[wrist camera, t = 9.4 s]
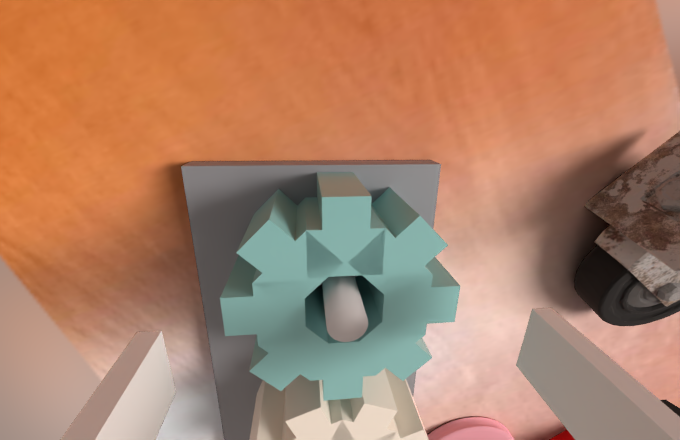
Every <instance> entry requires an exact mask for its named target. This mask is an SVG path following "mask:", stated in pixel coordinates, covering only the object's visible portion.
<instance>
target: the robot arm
mask: <svg viewBox="0 0 680 440" xmlns="http://www.w3.org/2000/svg"><path fill="white" fill-rule="evenodd" d="M516 366H517V367H518V368H519V369H520V371H521V372H522V373H523V374H524V376H525V377H526V378H527V380H528V381H529V382H530V383H531V385H532V386H533V387H534V388H535V390H536V391H537V392H538V393H539V395H540V396H541V397H542V398H543V400H544V401H545V402H546V404H547V405H548V406H549V407H550V409H551V410H552V411H553V412H554V414H555V415H556V416H557V417H558V419H559V420H560V421H561V422H562V424H563V425H564V426H565V428H566V429H567V430H568V431H569V433H570V434H571V435H572V436H573V438H574V439H575V440H680V408H678V407H677V406H675V405H673V404H672V403H670V402H668V401H667V400H659V399H658V398H657V397H656V396H654V395H653V394H652V393H651V392H650V391H649V390H647V389H646V388H645V387H644V386H643V385H642V384H640V383H639V382H638V381H637V380H636V379H635V378H633V377H632V376H631V375H630V374H629V373H627V372H626V371H625V370H624V369H623V368H622V367H620V366H619V365H618V364H617V363H616V362H615V361H613V360H612V359H611V358H610V357H609V356H607V355H606V354H605V353H604V352H603V351H602V350H600V349H599V348H598V347H597V346H596V345H595V344H593V343H592V342H591V341H590V340H589V339H588V338H586V337H585V336H584V335H583V334H582V333H580V332H579V331H578V330H577V329H576V328H575V327H573V326H572V325H571V324H570V323H569V322H568V321H566V320H565V319H564V318H563V317H562V316H561V315H559V314H558V313H557V312H556V311H555V310H553V309H552V308H537V309H532V312H531V315H530V319H529V322H528V326H527V329H526V333H525V336H524V340H523V343H522V347H521V350H520V354H519V357H518V361H517V364H516ZM175 394H176V389H175V385H174V380H173V376H172V372H171V368H170V364H169V359H168V355H167V351H166V347H165V343H164V338H163V334H162V330H161V331H144V332H137V333H136V334H135V335H134V337H133V338H132V340H131V341H130V342H129V344H128V345H127V347H126V348H125V349H124V351H123V352H122V354H121V355H120V356H119V358H118V359H117V361H116V362H115V363H114V365H113V366H112V368H111V369H110V370H109V372H108V373H107V375H106V376H105V377H104V379H103V380H102V382H101V383H100V385H99V386H98V387H97V389H96V390H95V392H94V393H93V394H92V396H91V397H90V399H89V400H88V402H87V403H86V404H85V406H84V407H83V408H82V410H81V411H80V413H79V414H78V415H77V417H76V418H75V420H74V421H73V422H72V424H71V425H70V427H69V428H68V430H67V431H66V432H65V434H64V435H63V437H62V438H61V439H60V440H156V437H157V435H158V433H159V430H160V428H161V426H162V424H163V421H164V419H165V417H166V414H167V412H168V410H169V407H170V405H171V403H172V400H173V398H174V396H175Z"/></svg>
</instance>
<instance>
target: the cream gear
mask: <svg viewBox="0 0 680 440" xmlns="http://www.w3.org/2000/svg"><path fill="white" fill-rule="evenodd" d="M249 440H429V439H428V436H427V433H426V431H425V428H424V426H423V423H422V420H421V418H420V415H419V412H418V410H417V407H416V404H415V402H414V399H413V396H412V394H411V391H410V388H409V386H408V383H407V381H406V379H405V380H404V381H402V380H401V379H399V378H398V377H397V376H395V375H394V374H393V373H392V372H390V371H389V370H388V369H386V368H384V369H383V370H382V371H381V372H379V373H378V374H377V375H376V376H364V377H363V387H362V397H361V398H350V399H338V400H327V401H323V387H322V380H314V381H310V380H308V379H307V378H305V377H304V376H302V375H301V374H300V375H299V376H298V377H297V378H295V379H294V380H293V381H292V382H291V383H290V384H289V385H287V386H286V387H285V388H284V389H283V390H282V391H280V390H278V389H277V388H275V387H273V386H272V385H270V384H269V383H267V382H265V381H264V380H263V381H262V383H261V385H260V387H259V390H258V392H257V396H256V402H255V408H254V414H253V420H252V427H251V433H250V439H249Z"/></svg>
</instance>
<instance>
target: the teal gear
mask: <svg viewBox="0 0 680 440" xmlns="http://www.w3.org/2000/svg"><path fill="white" fill-rule="evenodd" d="M371 199H372V196H371V195H370V193H369V192H368V191H367V190H366V188H365V187H364V186H363V184H362V183H361V182H360V180H359V179H358V178H357V176H356V175H355V174H354V173H353V172H317V197H305V198H304V199H303V200H302V201H301V202H300V203H299V204H298V205H296V204H295V203H294V202H293V201H292V200H290V199H289V198H288V197H287V196H286V195H285V194H284V193H283V192H282V191H280V190H279V189H278V190H277V191H276V192H275V193H274V194H273V195H272V196H271V197H270V198H269V199H268V200H267V201H266V202H265V203H264V204H263V205H262V206H261V207H260V208H259V209H258V210H257V211H256V212H255V213H254V215H253V217H252V219H251V222H250V224H249V226H248V228H247V230H246V233H245V235H244V237H243V239H242V241H241V243H240V246H239V248H238V250H237V252H236V253H237V254H238V255H239V256H238V258H237V260H236V262H235V265H234V267H233V269H232V272H231V274H230V276H229V279H228V281H227V283H226V285H225V288H224V290H223V292H222V295H221V297H220V302H221V309H222V317H223V324H224V331H225V336H237V335H253V334H257V335H256V340H255V345H254V350H253V355H252V360H251V365H250V370H249V371H250V372H251V373H253V374H254V375H256V376H258V377H259V378H261V379H262V380H264V381H265V382H267V383H269V384H270V385H272V386H273V387H275V388H277V389H278V390H280V391H282V390H283V389H284V388H285V387H286V386H287V385H289V384H290V383H291V382H292V381H293V380H294V379H295V378H297V377H298V376H299V375H300V374H301V375H302V376H304V377H305V378H307V379H308V380H310V381H314V380H322V387H323V401H327V400H338V399H350V398H361V397H362V387H363V377H364V376H376V375H377V374H378V373H379V372H381V371H382V370H383V369H384V368H386V369H388V370H389V371H390V372H392V373H393V374H394V375H395V376H397V377H398V378H399V379H401V380H402V381H404V380H405V379H406V378H407V377H409V376H410V375H411V374H412V373H414V372H415V371H416V370H417V369H419V368H420V367H421V366H422V365H424V364H425V363H426V362H427V361H428V360H430V359H431V358H432V356H431V354H430V352H429V350H428V348H427V346H426V344H425V342H424V341H423V339H422V337H423V336H424V335H425V333H426V325H427V324H428V323H443V322H454V321H455V315H456V309H457V303H458V297H459V291H460V285H459V284H458V283H457V282H456V281H455V279H454V278H453V277H452V276H451V275H450V274H449V273H448V271H447V270H446V269H445V268H444V267H443V266H442V265H441V264H440V262H439V261H438V260H437V259H436V258H435V256H436V255H437V254H439V253H440V252H441V251H442V250H443V249H444V248H445V247H447V246H448V245H447V244H446V243H445V242H444V240H443V239H442V238H441V237H440V236H439V235H438V234H437V233H436V232H435V231H434V230H433V229H432V228H431V227H430V226H429V225H428V224H427V222H426V221H425V220H424V219H423V218H422V217H421V216H420V215H419V214H418V213H417V212H416V211H415V210H414V209H412V208H411V207H410V206H409V205H408V204H407V203H406V202H405V201H404V200H403V199H402V198H401V197H400V196H398V195H397V194H396V193H395V192H394V191H393V190H392V189H391V188H390V187H389V188H388V189H387V190H386V191H385V192H384V193H383V194H382V195H381V196H380V197H379V198H377V199H376V200H375V201H374V202H373V203H372V204H371ZM335 276H356V277H355V279H356V282H357V286H358V289H359V292H360V295H361V299H362V302H363V305H364V309H365V312H366V315H367V319H368V327H367V330H366V332H365V333H364V334H363V335H362V336H361V337H360V338H358V339H356V340H354V341H350V342H340V341H337V340H335V339H333V338H332V337H331V336H330V335H329V333H328V331H327V327H326V318H325V308H324V299H323V289H322V286H321V285H320V284H321V283H322V282H323V281H324V280H326V279H327V278H328V277H335Z"/></svg>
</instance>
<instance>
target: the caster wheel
mask: <svg viewBox="0 0 680 440" xmlns="http://www.w3.org/2000/svg"><path fill="white" fill-rule="evenodd" d="M585 207H586V208H588V209H589V210H590V211H592V212H593V213H595V214H596V215H597V216H599V217H600V218H602V219H603V220H604V221H606V222H607V223H609V224H610V226H608V227H607V228H606V229H605V230H604V231H603V232H602V233H601V234H600V235H599V237H598V238H597V239H596V240H595V243H596V244H597V246H596V247H595V248H594V249H593V250H592V251H591V252H590V253H589V254H588V255H587V256H586V257H585V259H584V260H583V261H582V263H581V265H580V266H579V268H578V270H577V273H576V276H575V280H574V283H575V289H576V292H577V293H578V295H579V296H580V297H581V298H582V299H583V300H584V301H585V302H586V303H587V304H588V305H589V306H590V307H591V308H592V309H593V311H594V312H595V313H596V314H597V315H598V316H599V317H600V318H601V319H602V320H603V321H605V322H607V323H609V324H612V325H617V326H635V325H641V324H646V323H650V322H653V321H656V320H660V319H662V318H665V317H668V316H670V315H672V314H674V313H676V312H679V311H680V131H679V132H678V133H677V134H675V135H674V136H673V137H671V138H670V139H669V140H667V141H666V142H665V143H663V144H662V145H661V146H660V147H658V148H657V149H656V150H654V151H653V152H652V153H650V154H649V155H648V156H646V157H645V158H644V159H642V160H641V161H640V162H638V163H637V164H636V165H634V166H633V167H632V168H631V169H629V170H628V171H627V172H625V173H624V174H623V175H621V176H620V177H619V178H617V179H616V180H615V181H613V182H612V183H611V184H609V185H608V186H607V187H605V188H604V189H603V190H602V191H600V192H599V193H598V194H596V195H595V196H594V197H593V198H591V199H590V200H589V201H588V202H587V204H586V205H585Z"/></svg>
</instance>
